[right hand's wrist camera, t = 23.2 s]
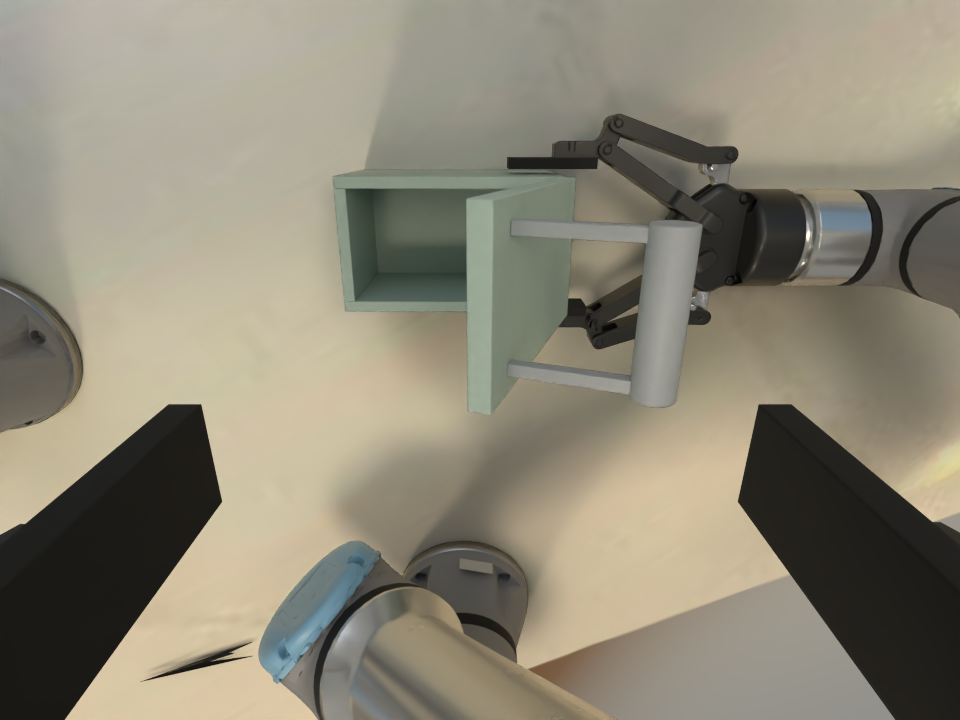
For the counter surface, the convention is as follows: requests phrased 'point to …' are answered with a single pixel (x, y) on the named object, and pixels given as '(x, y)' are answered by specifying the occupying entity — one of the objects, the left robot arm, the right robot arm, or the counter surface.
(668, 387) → the lid
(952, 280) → the left robot arm
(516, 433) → the counter surface
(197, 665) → the feather
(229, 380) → the counter surface
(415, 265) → the chest
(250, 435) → the counter surface
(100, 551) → the right robot arm
